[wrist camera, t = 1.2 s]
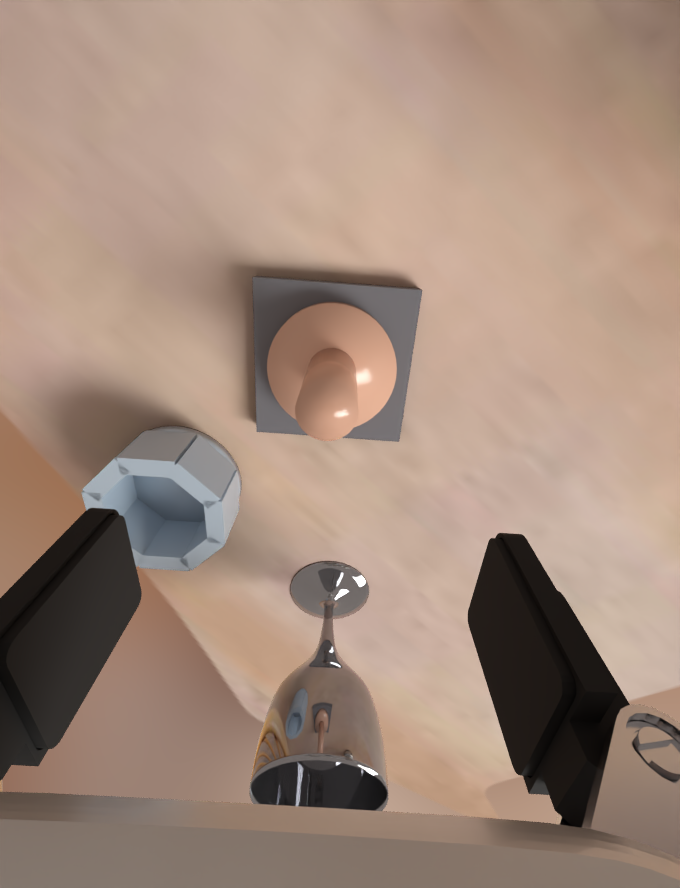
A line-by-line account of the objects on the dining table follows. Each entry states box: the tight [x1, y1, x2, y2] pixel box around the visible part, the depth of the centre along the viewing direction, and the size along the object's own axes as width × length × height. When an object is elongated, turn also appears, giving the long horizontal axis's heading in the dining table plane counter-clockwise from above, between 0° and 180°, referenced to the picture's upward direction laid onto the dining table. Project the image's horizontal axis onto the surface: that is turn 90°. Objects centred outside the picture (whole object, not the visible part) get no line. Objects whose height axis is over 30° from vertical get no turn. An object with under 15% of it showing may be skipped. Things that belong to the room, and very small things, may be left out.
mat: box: [253, 276, 422, 442], centre depth 26 cm, size 10×10×1 cm
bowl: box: [82, 426, 242, 571], centre depth 29 cm, size 9×9×5 cm
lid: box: [267, 302, 397, 441], centre depth 22 cm, size 8×8×8 cm
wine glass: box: [250, 561, 388, 811], centre depth 29 cm, size 8×8×15 cm
